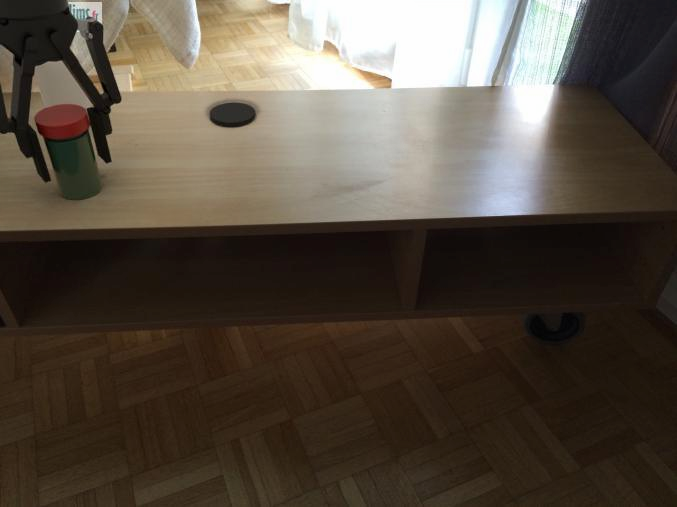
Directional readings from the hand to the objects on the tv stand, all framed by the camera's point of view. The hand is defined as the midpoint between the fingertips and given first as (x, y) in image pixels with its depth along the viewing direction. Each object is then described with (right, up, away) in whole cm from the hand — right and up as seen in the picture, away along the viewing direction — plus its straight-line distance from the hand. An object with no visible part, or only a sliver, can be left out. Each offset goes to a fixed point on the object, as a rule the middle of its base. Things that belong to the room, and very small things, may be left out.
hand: (75, 167), depth 76 cm
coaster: (+16, +11, +19) cm, 27 cm away
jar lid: (0, +5, -4) cm, 7 cm away
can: (-7, +9, +16) cm, 20 cm away
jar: (0, -2, +2) cm, 3 cm away
